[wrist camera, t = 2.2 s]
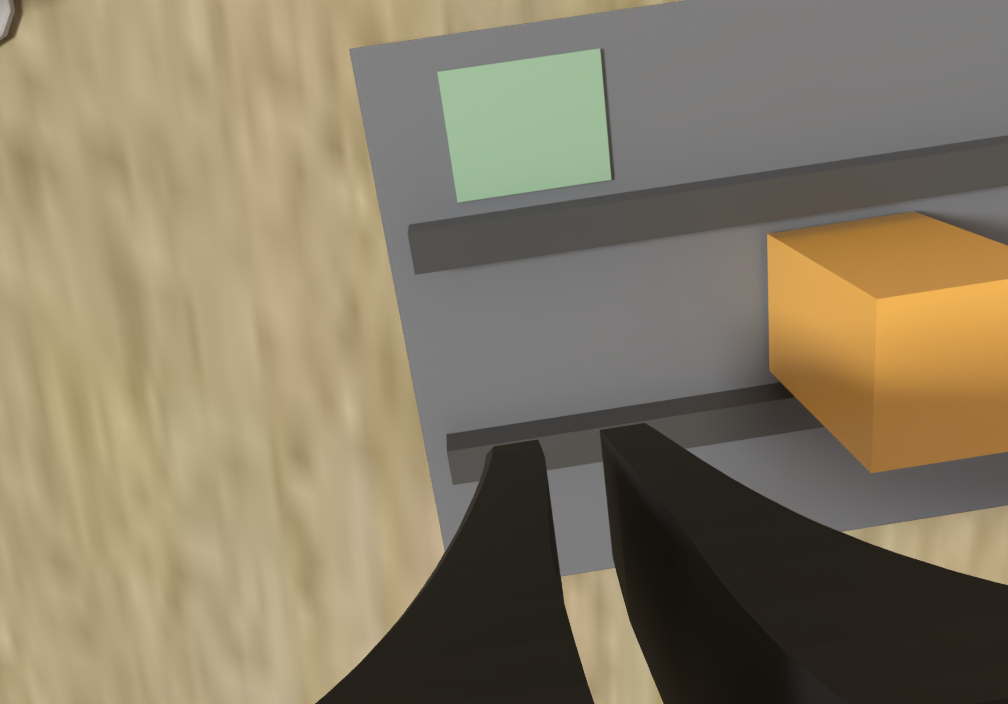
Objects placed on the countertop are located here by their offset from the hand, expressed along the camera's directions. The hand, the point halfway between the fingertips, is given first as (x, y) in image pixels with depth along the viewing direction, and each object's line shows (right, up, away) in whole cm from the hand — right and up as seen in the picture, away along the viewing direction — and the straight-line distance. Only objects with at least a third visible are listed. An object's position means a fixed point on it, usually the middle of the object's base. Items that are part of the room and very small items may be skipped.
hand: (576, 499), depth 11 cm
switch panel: (+6, +4, +9) cm, 11 cm away
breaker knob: (+6, +3, +6) cm, 9 cm away
